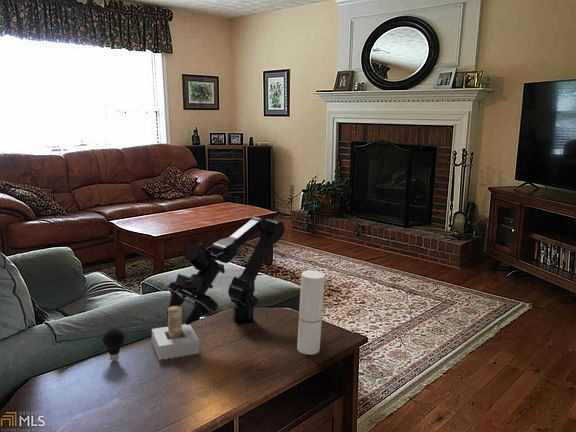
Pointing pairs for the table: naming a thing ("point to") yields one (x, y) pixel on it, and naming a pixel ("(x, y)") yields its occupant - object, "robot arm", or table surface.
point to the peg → (174, 322)
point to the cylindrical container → (310, 312)
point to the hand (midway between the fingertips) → (177, 319)
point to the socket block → (175, 343)
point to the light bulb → (113, 342)
